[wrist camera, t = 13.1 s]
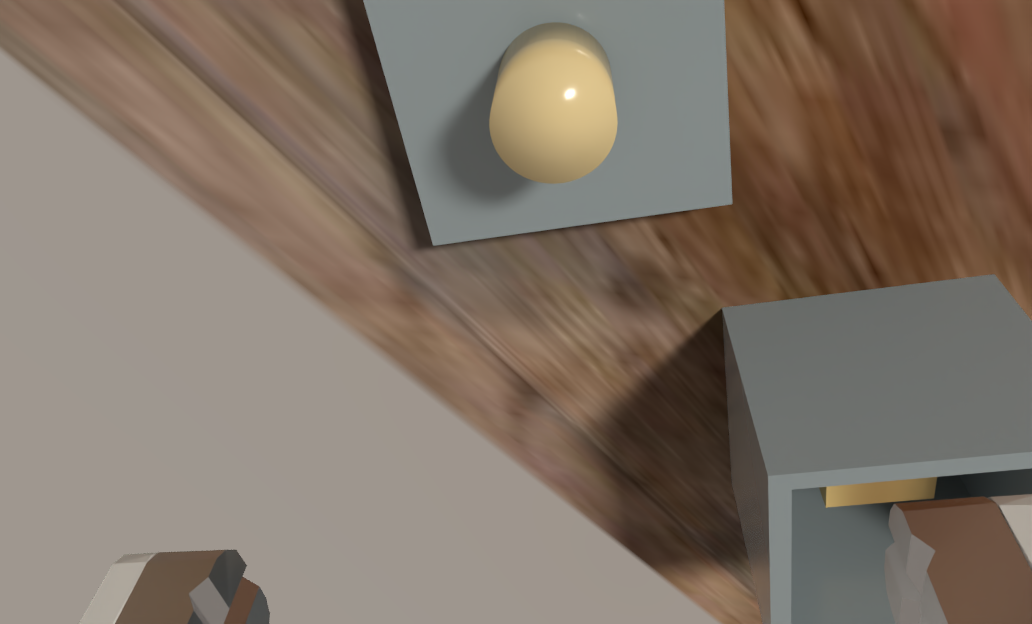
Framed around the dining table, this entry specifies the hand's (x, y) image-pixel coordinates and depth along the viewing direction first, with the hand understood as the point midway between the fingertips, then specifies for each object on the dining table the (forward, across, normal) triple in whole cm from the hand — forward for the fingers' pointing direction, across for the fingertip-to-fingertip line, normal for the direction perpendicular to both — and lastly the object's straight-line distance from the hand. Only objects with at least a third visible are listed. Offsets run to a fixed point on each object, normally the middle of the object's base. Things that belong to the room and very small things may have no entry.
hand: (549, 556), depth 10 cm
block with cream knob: (+19, +1, 0) cm, 19 cm away
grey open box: (+20, -9, +16) cm, 27 cm away
